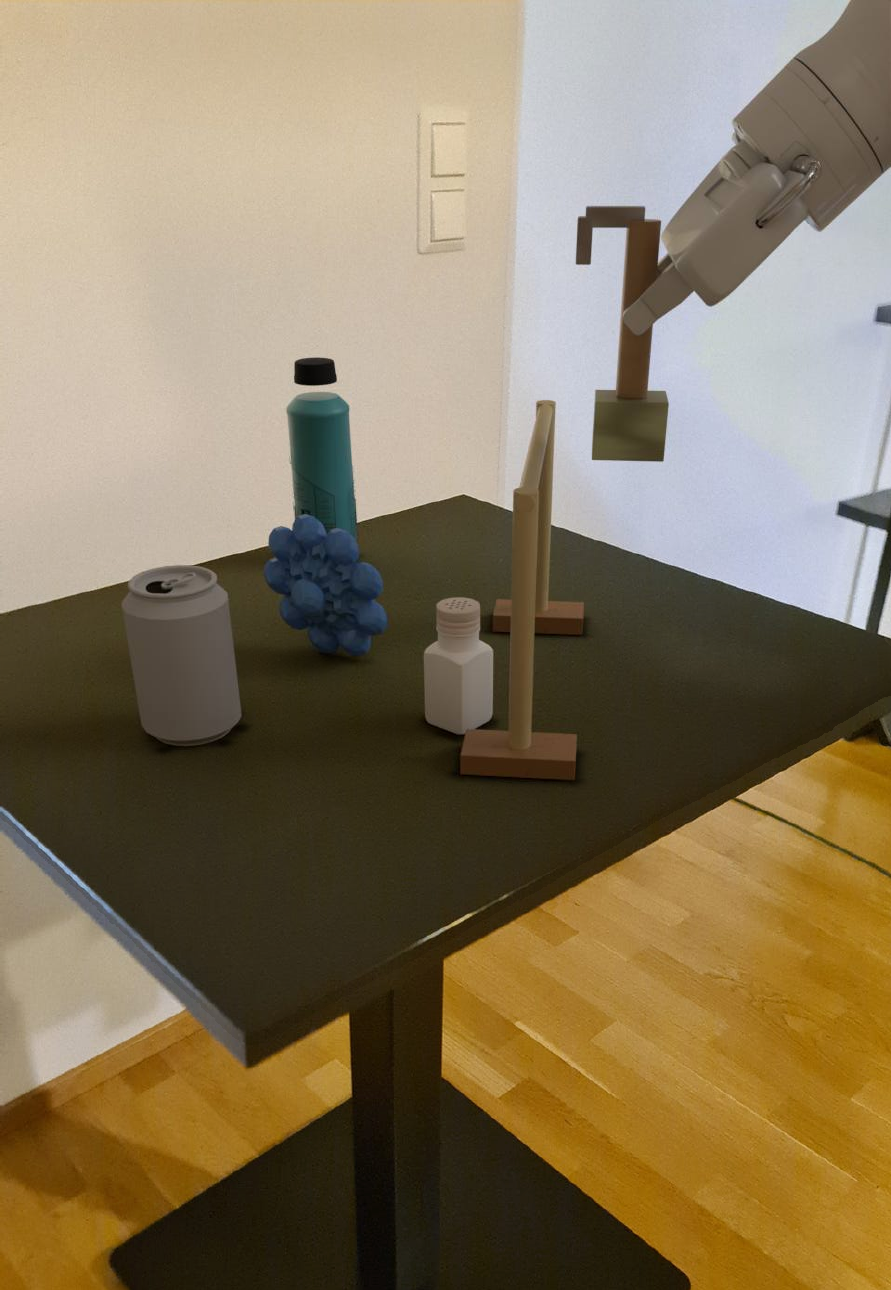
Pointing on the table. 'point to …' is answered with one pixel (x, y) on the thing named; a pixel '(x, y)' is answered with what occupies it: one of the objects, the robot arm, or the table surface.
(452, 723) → the pepper shaker
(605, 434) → the hook hanger stand
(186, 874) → the table surface
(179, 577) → the can
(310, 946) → the table surface
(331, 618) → the grapes
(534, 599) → the wooden dowel stand
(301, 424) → the beverage bottle
